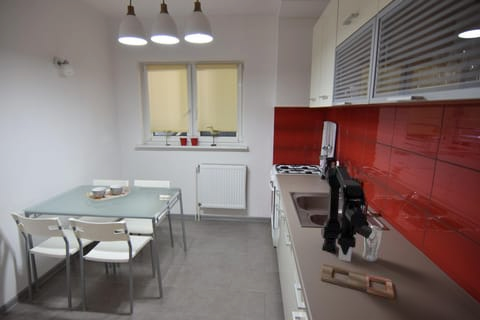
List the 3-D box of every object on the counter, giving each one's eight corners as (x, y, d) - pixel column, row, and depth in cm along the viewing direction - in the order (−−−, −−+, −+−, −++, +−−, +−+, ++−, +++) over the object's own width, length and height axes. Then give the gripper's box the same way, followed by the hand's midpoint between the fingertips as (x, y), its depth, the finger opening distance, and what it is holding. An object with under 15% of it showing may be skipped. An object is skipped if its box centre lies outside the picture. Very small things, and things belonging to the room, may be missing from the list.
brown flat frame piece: (323, 266, 117) (323, 264, 117) (390, 282, 107) (391, 279, 107) (320, 279, 108) (321, 277, 108) (393, 298, 98) (394, 296, 98)
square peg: (339, 253, 110) (340, 235, 109) (350, 255, 109) (352, 237, 107) (338, 258, 106) (340, 240, 105) (350, 261, 105) (352, 243, 103)
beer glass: (358, 257, 125) (362, 227, 121) (365, 252, 129) (369, 223, 126) (373, 264, 119) (378, 233, 116) (380, 258, 124) (384, 228, 121)
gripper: (373, 229, 92) (368, 269, 95) (371, 210, 109) (366, 245, 112) (339, 223, 97) (335, 262, 100) (342, 206, 113) (338, 239, 117)
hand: (345, 251), depth 107 cm, fingers closed on square peg, 4 cm apart
